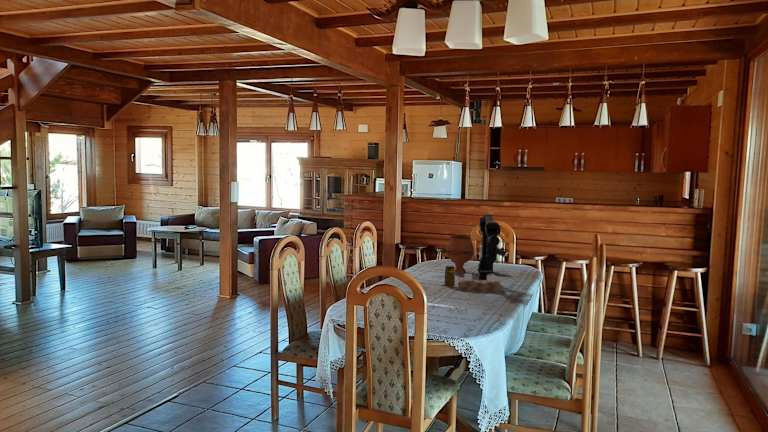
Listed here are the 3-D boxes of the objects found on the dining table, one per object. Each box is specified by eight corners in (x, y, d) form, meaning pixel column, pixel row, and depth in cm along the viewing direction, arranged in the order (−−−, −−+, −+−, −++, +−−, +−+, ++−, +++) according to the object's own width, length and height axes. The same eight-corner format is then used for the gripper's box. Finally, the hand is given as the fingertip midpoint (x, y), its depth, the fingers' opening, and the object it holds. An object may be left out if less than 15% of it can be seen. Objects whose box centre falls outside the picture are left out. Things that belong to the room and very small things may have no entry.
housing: (458, 290, 337) (458, 281, 336) (459, 287, 345) (459, 278, 345) (499, 292, 332) (500, 283, 332) (499, 289, 341) (500, 281, 340)
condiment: (457, 286, 348) (458, 266, 347) (446, 287, 344) (447, 267, 343) (449, 284, 354) (450, 265, 353) (439, 285, 350) (439, 266, 349)
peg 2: (486, 283, 335) (486, 275, 335) (486, 281, 340) (487, 274, 339) (494, 283, 334) (494, 276, 334) (494, 282, 339) (494, 274, 338)
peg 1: (464, 282, 338) (464, 274, 338) (464, 280, 342) (464, 273, 342) (471, 282, 337) (471, 275, 337) (472, 281, 341) (472, 273, 341)
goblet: (452, 275, 384) (452, 238, 382) (441, 270, 403) (442, 234, 401) (478, 274, 389) (479, 237, 387) (466, 269, 408) (467, 234, 406)
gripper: (505, 246, 324) (505, 273, 326) (505, 242, 343) (504, 268, 344) (485, 245, 327) (485, 272, 328) (486, 241, 345) (486, 267, 346)
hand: (490, 270), depth 336 cm, fingers closed
